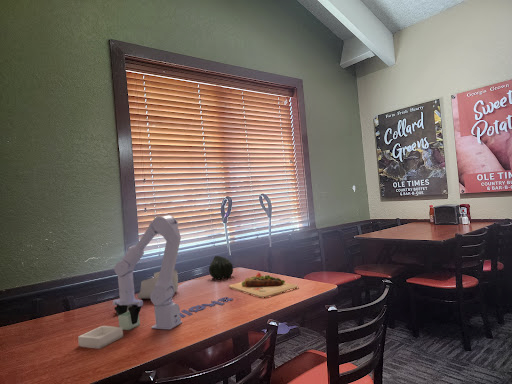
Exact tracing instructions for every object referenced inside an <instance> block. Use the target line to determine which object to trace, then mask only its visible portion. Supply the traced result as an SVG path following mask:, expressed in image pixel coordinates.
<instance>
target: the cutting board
mask: <svg viewBox="0 0 512 384" xmlns="http://www.w3.org/2000/svg"><path fill="white" fill-rule="evenodd" d="M228 287H229V289H231V288H232V289H231V290H234V289H236V290H235V291H237V290H239V291H238V292H240V291H243V292H246V293H249V294H252V295H255V296H258V297H268V296H271V295H275V294H278V293H281V292H284V291H287V290H290V289H294V288H297V287H298V288H299V286H298V284H295V283H290V282H286V280H283V279H281V278H279V277H273V276H271V275H269V274H264V275H263V274H261V273H260V271H258V272H257V273H256V274H255V276H250V277H247V278H245V280H243V281H241V282H237V283H233V284H229V286H228ZM243 292H242V293H243ZM246 293H245V294H246ZM249 294H248V295H249ZM252 295H251V296H252ZM278 295H279V294H278ZM255 296H254V297H255ZM275 296H276V295H275ZM258 297H257V298H258ZM271 297H272V296H271ZM268 298H269V297H268Z"/></svg>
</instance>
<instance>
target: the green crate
mask: <svg viewBox="0 0 512 384" xmlns="http://www.w3.org/2000/svg"><path fill="white" fill-rule="evenodd" d="M117 317H118V327H122V328H123V331H130V330H133V329H135V328H137V327H138V326H140V325H141V321H140V314H139V315H138V321H137V323H136V324H132V321H131V315H130V312H129V311H128V312H126V313H123V314H121V315H118V316H117Z"/></svg>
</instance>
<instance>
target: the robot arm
mask: <svg viewBox="0 0 512 384" xmlns="http://www.w3.org/2000/svg"><path fill="white" fill-rule="evenodd" d="M180 233H181V232H180V229H179V222H178V220H177V219H176V218H175V217H174V216H173V215H170V214H168V215H164V216H161V215H159V216H155V218H154V219H153V220H152V221H151V222H150V223H149V225H148V226H147V229H146V230H145V232H144V233H143V234H142V236H141V238H139V241H138V242H137V243H136V245H135V244H134V245H132V246H130V247H128V249H127V252H126V253H125V254H124V256H122V257H120V258H121V260H120V261H119V260H118V261H117V262H116V263H115V265H114V268H113V269H114V271H113V272H114V273H115V274H116V276H117V283H118V294H119V295H118V296H119V298H118V299H117V298H116V299H114V300H112V306H115V307H114V311H115V312H117V313H118V314H117V313H116V314H117V315H118V316H119V315H121V314H123V313H126V312H127V307H128V305H130V306H132V307H129V308H128V310H129V312H130V315H131V321H132V324H136V323H137V321H138V315H139V316H140V311H141V309H142V307H143V306H144V299H143V300H142V299H139V298H135V297H136V296H135V285H134V271H135V270H136V269H135V268H136V265H137V264H138V263H139V261H140V260H141V258H142V257H143V256H144V254H145V252H144V250H145V248H146V247H147V246H148V245H149V243H150V242H151V241H152V240H153V239H154V238H155V236H157V235H160V236H162V237H163V239H164V240H165V241H166V242H165V246H164V252H163V257H162V262H161V265H160V270H159V272H160V275H159V280H158V281H157V283H156V285H155V288H154V290H153V292H152V293H151V296H150V298H149V299H150V302H151V303H152V304H153V307H154V317H155V324H154V325H152V326H151V329H157V330H158V329H159V330H172V329H174V328H176V327H177V326H179V325H181V324H183V321H182V319H181V318H182V317H180V313H181V309H180V308H181V307H180V305H179V304H178V303H175V302H174V300H173V296H174V295H175V293H174V287H173V285H174V282H173V281H172V278H173V273H174V270H175V268H176V263H177V260H178V259H177V257H178V255H179V254H178V253H179V248H180V244H181V239H182V238H181V234H180ZM116 306H117V307H116Z"/></svg>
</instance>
